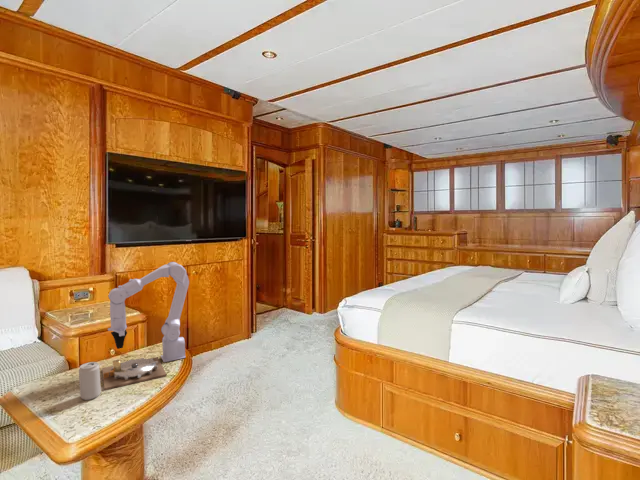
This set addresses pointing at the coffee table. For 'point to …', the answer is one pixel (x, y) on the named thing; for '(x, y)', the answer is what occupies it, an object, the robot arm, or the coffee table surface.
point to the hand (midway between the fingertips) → (119, 347)
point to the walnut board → (114, 383)
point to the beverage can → (89, 380)
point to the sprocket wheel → (133, 368)
